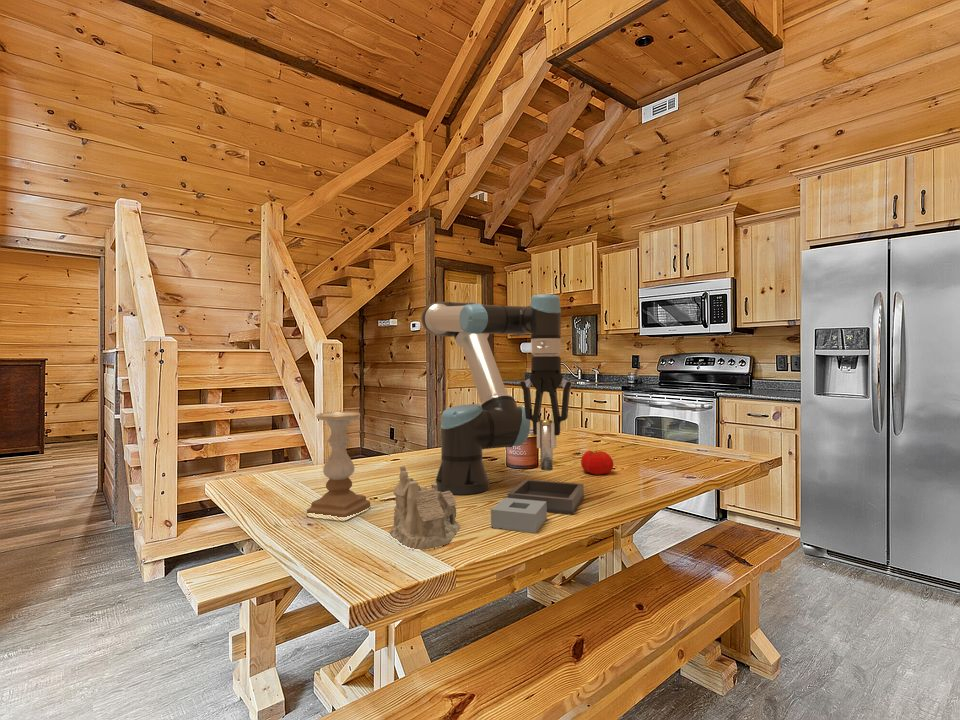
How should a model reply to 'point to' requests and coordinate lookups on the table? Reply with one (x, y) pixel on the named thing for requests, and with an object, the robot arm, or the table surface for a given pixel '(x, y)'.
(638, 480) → the table surface
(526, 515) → the pin block
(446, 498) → the ceramic cottage
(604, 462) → the tomato
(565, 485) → the tray
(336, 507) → the candle holder
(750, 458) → the table surface
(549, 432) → the pin
